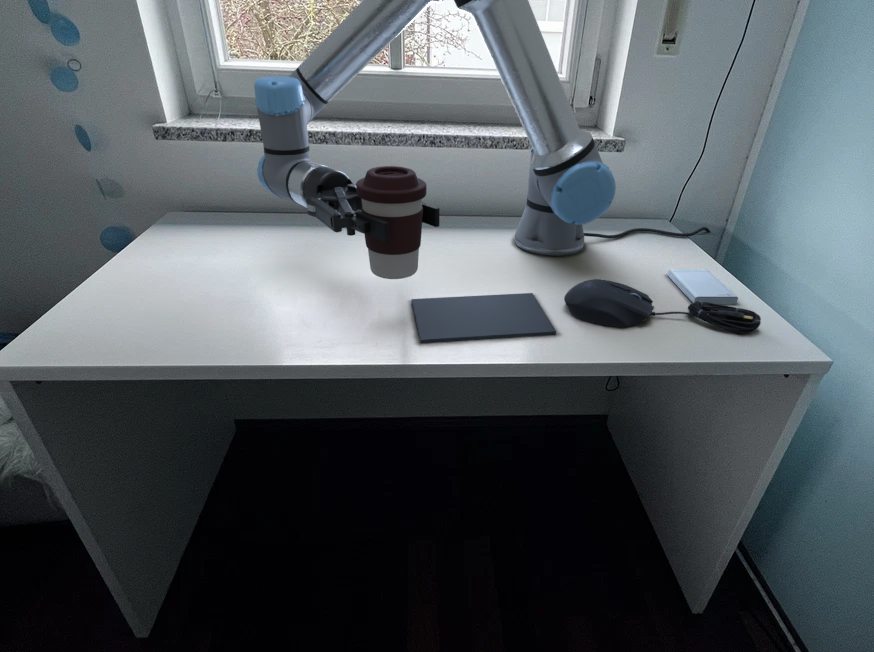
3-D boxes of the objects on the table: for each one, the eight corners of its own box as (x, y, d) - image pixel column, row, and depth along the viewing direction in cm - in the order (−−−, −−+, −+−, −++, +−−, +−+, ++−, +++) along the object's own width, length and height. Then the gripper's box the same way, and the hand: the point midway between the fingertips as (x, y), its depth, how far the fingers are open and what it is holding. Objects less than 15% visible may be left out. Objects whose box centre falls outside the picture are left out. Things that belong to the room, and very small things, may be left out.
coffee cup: (418, 287, 80) (417, 183, 72) (353, 280, 81) (345, 177, 73) (432, 261, 88) (432, 165, 80) (372, 255, 89) (367, 160, 81)
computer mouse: (562, 298, 99) (566, 270, 96) (746, 314, 96) (756, 285, 93) (563, 323, 91) (568, 293, 88) (764, 341, 88) (775, 311, 85)
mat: (532, 295, 100) (532, 292, 99) (556, 334, 88) (556, 331, 88) (411, 302, 96) (411, 298, 96) (420, 343, 85) (420, 339, 84)
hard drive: (739, 296, 98) (708, 268, 109) (695, 296, 98) (668, 268, 108) (736, 304, 99) (706, 276, 110) (692, 305, 99) (666, 275, 109)
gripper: (375, 199, 99) (465, 232, 86) (266, 226, 86) (353, 270, 73) (372, 156, 95) (466, 184, 82) (258, 178, 82) (348, 215, 69)
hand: (413, 224), depth 77 cm, fingers closed on coffee cup, 9 cm apart
